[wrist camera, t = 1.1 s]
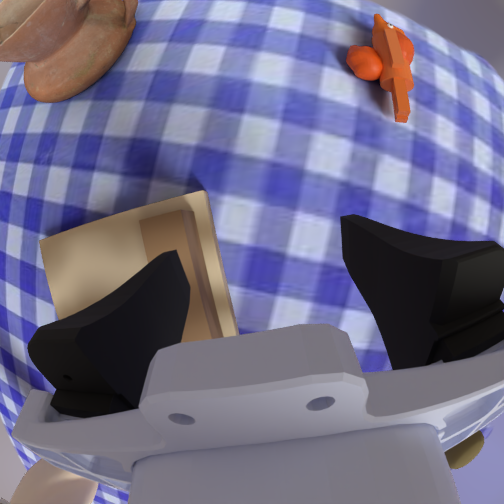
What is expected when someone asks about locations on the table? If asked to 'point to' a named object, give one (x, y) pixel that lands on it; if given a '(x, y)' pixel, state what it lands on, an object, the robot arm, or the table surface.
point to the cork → (465, 450)
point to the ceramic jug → (64, 42)
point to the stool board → (125, 257)
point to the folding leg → (185, 268)
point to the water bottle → (52, 487)
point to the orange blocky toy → (386, 64)
